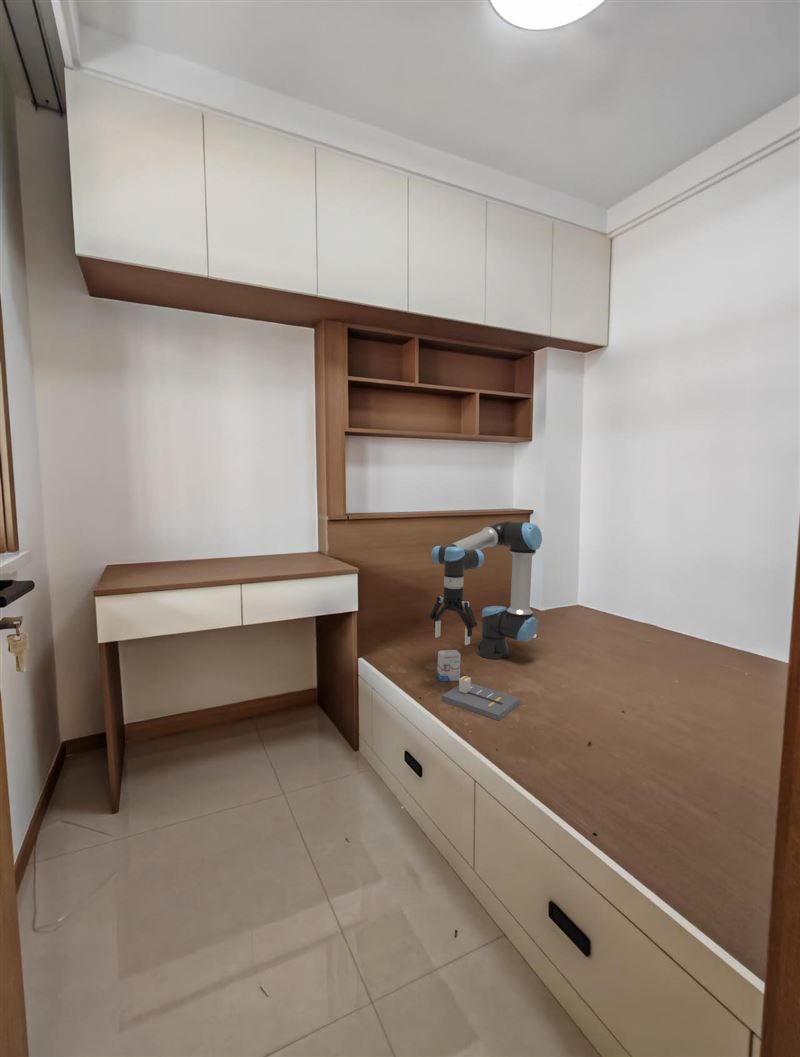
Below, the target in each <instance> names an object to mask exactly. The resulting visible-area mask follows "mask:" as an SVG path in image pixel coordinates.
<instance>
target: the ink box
mask: <svg viewBox="0 0 800 1057" xmlns="http://www.w3.org/2000/svg"><path fill="white" fill-rule="evenodd" d="M461 656H462V654H461V653H460V651H459V650H457V649H447V650H439V651H437V666H436V668H437V670H436V672H437V674H436V677H437V679H438V680H439V681H440V682H441V683H443V682H444V683H445V682H455V681H459V679H460V678H461V676H460V675H461Z"/></svg>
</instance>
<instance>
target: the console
mask: <svg viewBox="0 0 800 1057" xmlns="http://www.w3.org/2000/svg"><path fill="white" fill-rule="evenodd" d="M441 701H442V702H445V703H447V704H450V705H453V706H456V707H459V708H462V709H463V710H464V709H465V710H467V711H470V712H473V713H475V714H479V715H482V716H485V717H487V718H490V719H492V720H495V721H498V722H499V721H500V720H501V719H502V718H504V717H505V716H506V715H507V714H509V713H510V712H511V711H512V710H514V709H515V708H517V706H519V705H520V704H521V698H520V697H516V696H514V695H510V694H507V693H504V692H501V691H497V690H494V689H491V688H489V687H485V686H481V685H478V684H476V683H472V682H471V690H470V691H469V692H467V693H466V694H465V693H462V692H459V684H458V685H455V687H453V688H451V689H450V690H448V691H447V692H445V693H443V694H442V695H441Z"/></svg>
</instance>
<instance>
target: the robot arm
mask: <svg viewBox="0 0 800 1057" xmlns="http://www.w3.org/2000/svg"><path fill="white" fill-rule="evenodd" d="M542 542H543V536H542V532H541V529H540V528H539V526H538V525H537V524H535V523H530V522H524V521H523V522H522V521H521V522H520V521H509V520H508V521H507V520H506V521H505V520H504V521H499V522H496V523H493V524H490V525H488V526H486V527H483V529H482V530H481V531H479V532H477V533H474V534H472V535H469V536H467V537H465V538H462V539H460V540H458V541H455V542H452V543H450V544H448V545H444V546H443V545H436V546H434V547H433V548H432V550H431V552H430V553H431V556H430V557H431V559H432V561H433V562H434V563H436V564H439V565H444V567H443V568H444V571H443V572H444V573H443V574H444V575H443V586H444V588H443V596H442V595H440V596H438V597H436V602H435V604H434V606H433V608H432V610H431V613H430V614H429V619H432V620H433V629H434V630H435V633H434V637H435V638H439V637H441V631H442V630H441V628H442V627H441V625H442V620H440V619H441V618H442V616H443V615H444V614H445V613H446V612H447V610H448V611H452V612H456V613H457V614H458V615H459V617H460V619H461V620H462V621H463V623H464V625H465V627H464V628H465V629H464V645H465V646H467V645H469V644H471V637H472V636H473V629H474V628H476V627H478V623H477V620H476V618H475V616H474V613H473V610H472V607H471V602H470V600H469V601H468V600H467V601H464V600H463V599H464V582H465V581H464V576H465V575H464V574H465V573H464V572H465V571H468V570H473V569H477V568H480V567H482V566H483V565H484V563H485V555H484V553H483V552H482V551H481V550H483V549H486V548H494V547H495V546H502V547H509V553H510V554H511V556H512V562H511V563H512V564H511V587H510V588H511V589H510V604H509V607H506V606H504V605H492V606H486V607H484V608H483V609H482V612H481V628H480V629H481V631H480V633H481V635H480V636H481V638H480V639H479V643H478V646H477V649H476V651H477V652H476V653H477V655H478V656H480V657H482V658H485V659H489V660H503V659H506V658H508V657H509V655H510V649H509V645H508V643H507V638H508V639H509V638H510V639H513V640H516V641H518V642H524V643H525V642H529V641H531V640H533V638H534V637H535V635H536V634H537V629H538V624H539V623H538V620H537V618H535V617H534V616H533V614H534V612H533V610H532V609H531V607H530V606H531V586H532V567H533V566H532V565H533V564H532V563H533V556H534V555H535V554H536V552H537V550H539V549H540V548H541V545H542ZM442 603H444V605H443V606H442ZM441 606H442V608H441ZM440 608H441V609H440Z"/></svg>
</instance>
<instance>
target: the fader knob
mask: <svg viewBox="0 0 800 1057" xmlns="http://www.w3.org/2000/svg"><path fill="white" fill-rule="evenodd" d="M471 683H472V677H469V675H466V676H465V675H464V676H461V677H460V679H459V680H458V685H459V692H462V693H465V694H466V693H467V692H469V691H470V690H471Z"/></svg>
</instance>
